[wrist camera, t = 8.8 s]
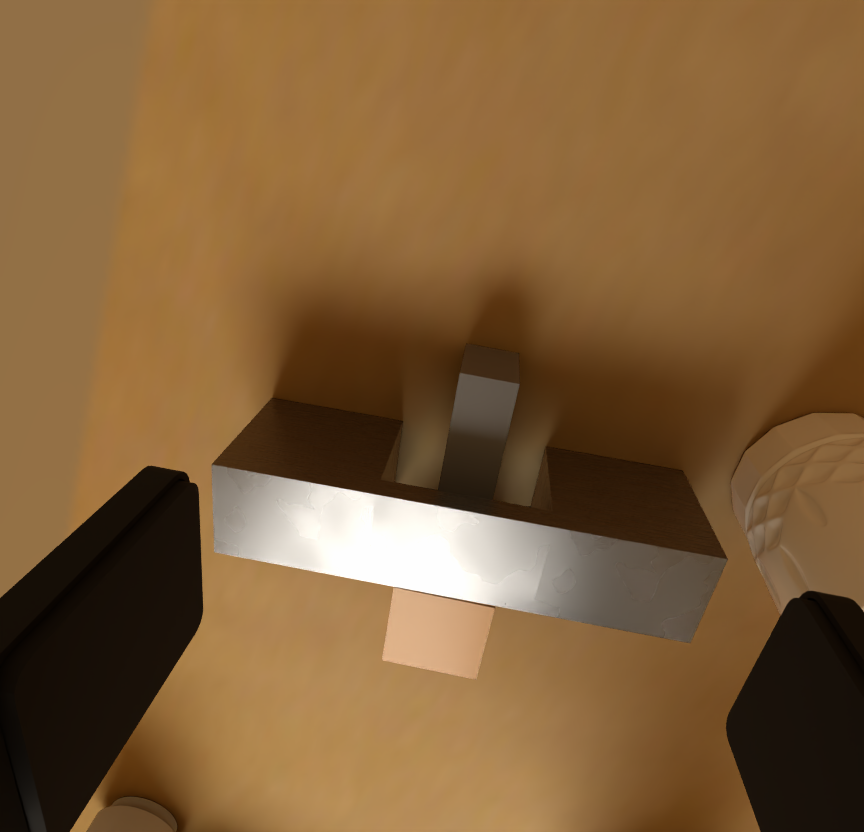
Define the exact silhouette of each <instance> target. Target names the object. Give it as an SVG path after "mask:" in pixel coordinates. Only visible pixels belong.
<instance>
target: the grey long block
mask: <svg viewBox="0 0 864 832" xmlns="http://www.w3.org/2000/svg"><path fill="white" fill-rule="evenodd" d="M402 424H403V421H399V420H393V419H387V418H382V417H376V416H370V415H365V414H359V413H354V412H348V411H342V410H337V409H331V408H325V407H320V406H314V405H308V404H303V403H297V402H291V401H286V400H280V399H274V398H271V400H270V401H269V402H268V403H267V404H266V405H265V406H264V407H263V408H262V409H261V411H260V412H259V413H258V414H257V415H256V416H255V417H254V418H253V419H252V420H251V422H250V423H249V424H248V425H247V426H246V427H245V428H244V429H243V430H242V432H241V433H240V434H239V435H238V436H237V437H236V438H235V439H234V440H233V441H232V443H231V444H230V445H229V446H228V447H227V448H226V449H225V450H224V451H223V452H222V454H221V455H220V456H219V457H218V458H217V459H216V460H215V461H214V462H213V464H212V492H213V523H214V552H216V553H221V554H226V555H231V556H237V557H242V558H247V559H252V560H258V561H263V562H268V563H273V564H278V565H284V566H289V567H294V568H299V569H305V570H310V571H315V572H320V573H326V574H331V575H336V576H341V577H346V578H352V579H357V580H362V581H367V582H373V583H378V584H383V585H388V586H394V587H399V588H404V589H409V590H414V591H420V592H425V593H430V594H435V595H441V596H446V597H451V598H456V599H462V600H467V601H472V602H477V603H482V604H488V605H493V606H498V607H503V608H509V609H514V610H519V611H524V612H530V613H535V614H540V615H545V616H550V617H556V618H561V619H566V620H571V621H577V622H582V623H587V624H592V625H598V626H603V627H608V628H613V629H619V630H624V631H629V632H634V633H639V634H645V635H650V636H655V637H660V638H666V639H671V640H676V641H681V642H687V643H690V642H691V640H692V638H693V636H694V634H695V631H696V629H697V627H698V625H699V622H700V620H701V618H702V616H703V614H704V611H705V609H706V607H707V605H708V602H709V600H710V598H711V596H712V594H713V591H714V589H715V587H716V585H717V582H718V580H719V578H720V576H721V574H722V571H723V569H724V567H725V565H726V562H727V560H728V559H727V557H726V555H725V553H724V551H723V549H722V547H721V545H720V543H719V541H718V539H717V537H716V535H715V533H714V531H713V529H712V527H711V525H710V523H709V521H708V519H707V517H706V515H705V513H704V511H703V509H702V507H701V505H700V503H699V502H698V500H697V498H696V496H695V494H694V492H693V490H692V488H691V486H690V484H689V482H688V480H687V478H686V476H685V474H684V472H683V471H681V470H675V469H670V468H664V467H658V466H653V465H647V464H641V463H636V462H630V461H624V460H619V459H613V458H608V457H602V456H596V455H591V454H585V453H579V452H574V451H568V450H562V449H557V448H551V447H546V448H545V452H544V456H543V460H542V464H541V467H540V471H539V475H538V479H537V483H536V487H535V491H534V495H533V499H532V503H531V507H527V506H521V505H516V504H510V503H505V502H499V501H494V500H489V499H483V498H478V497H472V496H467V495H461V494H456V493H450V492H445V491H439V490H434V489H428V488H423V487H417V486H412V485H406V484H401V483H395V478H396V471H397V463H398V455H399V447H400V439H401V432H402Z"/></svg>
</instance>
